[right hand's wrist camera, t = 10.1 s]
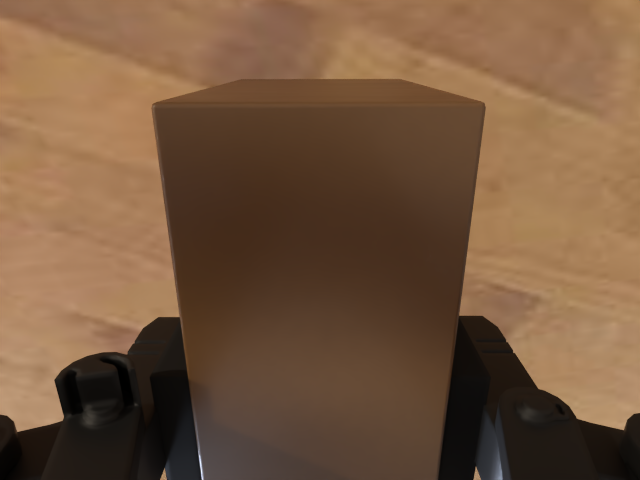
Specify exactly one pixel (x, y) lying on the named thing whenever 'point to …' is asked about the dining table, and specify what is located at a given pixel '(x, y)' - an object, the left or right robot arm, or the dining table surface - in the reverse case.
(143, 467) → the right robot arm
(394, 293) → the beam
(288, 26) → the dining table surface
